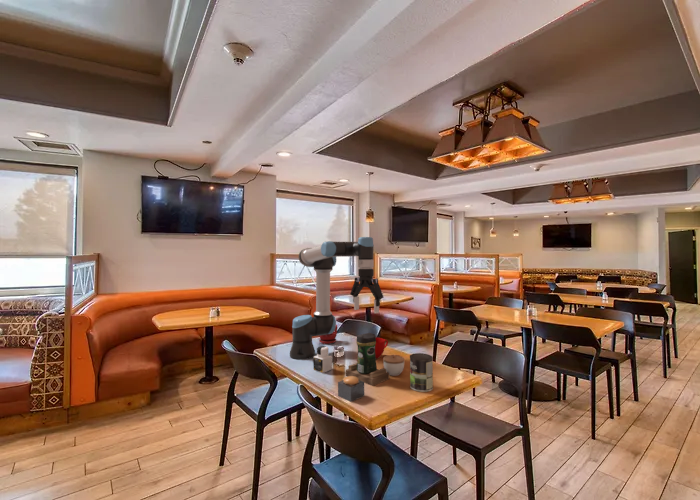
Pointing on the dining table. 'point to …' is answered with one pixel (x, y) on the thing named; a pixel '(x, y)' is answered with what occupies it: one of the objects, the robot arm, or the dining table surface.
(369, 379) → the cradle rack
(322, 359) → the medicine bottle
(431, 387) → the coffee can
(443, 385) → the dining table surface
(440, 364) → the dining table surface
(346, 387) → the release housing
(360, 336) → the coffee jar
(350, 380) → the release button
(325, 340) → the plant pot
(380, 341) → the ceramic cup
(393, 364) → the lidded jar
